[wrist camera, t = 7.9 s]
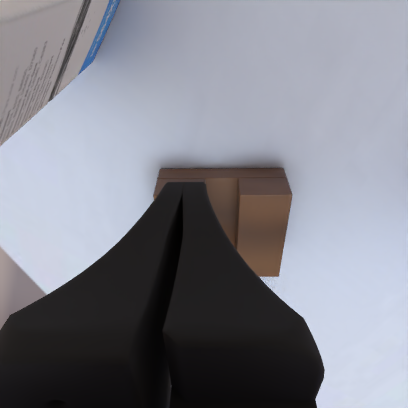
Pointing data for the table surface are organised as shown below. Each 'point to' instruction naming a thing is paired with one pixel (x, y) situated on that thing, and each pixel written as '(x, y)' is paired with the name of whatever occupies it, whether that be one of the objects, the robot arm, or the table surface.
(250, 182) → the block
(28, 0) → the ink box
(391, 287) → the table surface
